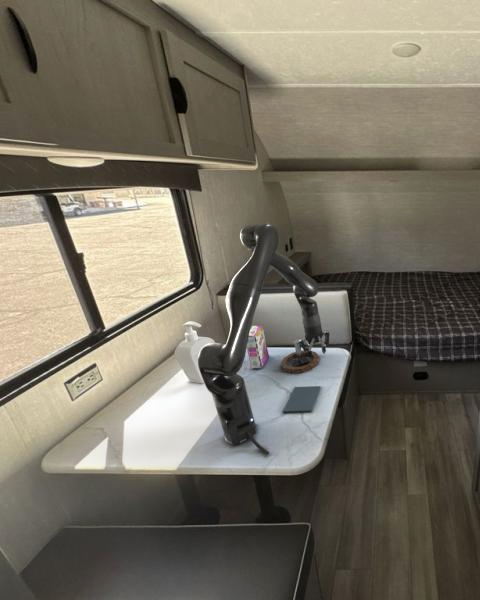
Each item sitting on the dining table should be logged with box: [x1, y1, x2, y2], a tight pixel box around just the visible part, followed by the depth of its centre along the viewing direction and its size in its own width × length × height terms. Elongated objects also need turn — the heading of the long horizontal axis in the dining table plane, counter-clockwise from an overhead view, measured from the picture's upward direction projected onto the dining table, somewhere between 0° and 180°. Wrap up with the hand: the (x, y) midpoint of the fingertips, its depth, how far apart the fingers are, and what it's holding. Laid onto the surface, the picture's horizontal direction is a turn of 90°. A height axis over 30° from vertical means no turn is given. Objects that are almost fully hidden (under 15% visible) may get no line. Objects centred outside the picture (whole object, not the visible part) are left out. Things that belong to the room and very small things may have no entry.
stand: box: [291, 339, 310, 367], centre depth 139 cm, size 6×6×11 cm
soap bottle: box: [173, 320, 216, 384], centre depth 129 cm, size 12×10×26 cm
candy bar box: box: [246, 324, 269, 370], centre depth 140 cm, size 11×5×16 cm, turn 6°
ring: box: [280, 349, 320, 374], centre depth 141 cm, size 16×16×2 cm
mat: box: [282, 385, 321, 414], centre depth 117 cm, size 14×10×1 cm
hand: (317, 354), depth 145 cm, fingers open, 5 cm apart
